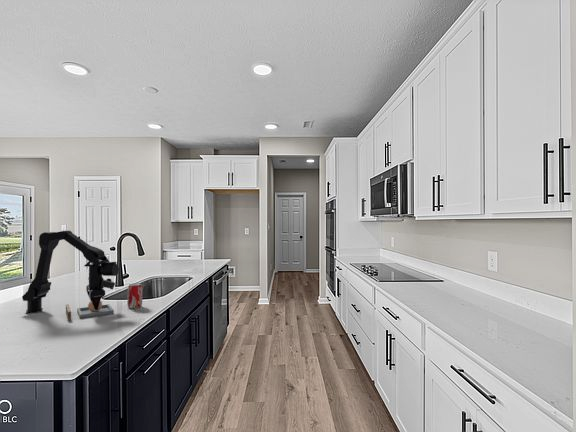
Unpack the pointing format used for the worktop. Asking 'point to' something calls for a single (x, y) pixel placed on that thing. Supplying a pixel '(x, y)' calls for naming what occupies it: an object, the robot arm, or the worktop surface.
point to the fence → (68, 312)
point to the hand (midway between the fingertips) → (95, 307)
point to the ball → (93, 306)
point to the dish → (87, 313)
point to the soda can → (134, 295)
